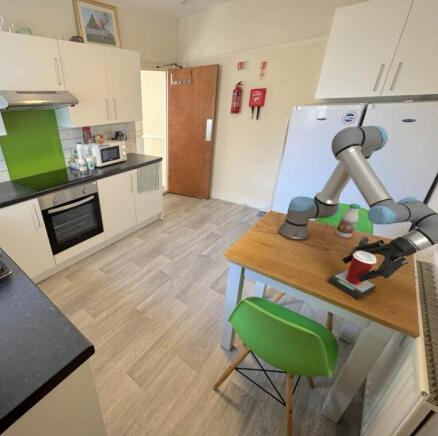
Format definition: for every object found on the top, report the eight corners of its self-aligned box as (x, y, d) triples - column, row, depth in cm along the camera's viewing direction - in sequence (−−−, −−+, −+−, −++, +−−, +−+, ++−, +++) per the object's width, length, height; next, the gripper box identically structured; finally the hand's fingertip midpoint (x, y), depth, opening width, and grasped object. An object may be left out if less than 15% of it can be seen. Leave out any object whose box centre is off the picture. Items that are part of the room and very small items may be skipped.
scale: (344, 274, 114) (346, 269, 113) (373, 290, 104) (376, 285, 103) (328, 281, 110) (330, 276, 109) (357, 299, 100) (360, 294, 99)
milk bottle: (335, 230, 150) (346, 201, 140) (350, 233, 146) (363, 203, 136) (335, 235, 144) (347, 205, 135) (351, 239, 140) (364, 208, 131)
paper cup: (368, 288, 102) (382, 262, 95) (348, 285, 103) (360, 260, 97) (358, 275, 108) (370, 250, 102) (339, 274, 110) (350, 249, 103)
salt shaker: (363, 253, 128) (372, 234, 122) (366, 259, 123) (376, 240, 118) (349, 251, 130) (357, 232, 125) (352, 257, 125) (361, 237, 120)
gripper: (440, 269, 84) (372, 295, 94) (392, 234, 105) (341, 259, 115) (430, 255, 83) (362, 284, 93) (384, 222, 103) (332, 249, 113)
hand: (350, 270), depth 104 cm, fingers open, 11 cm apart
